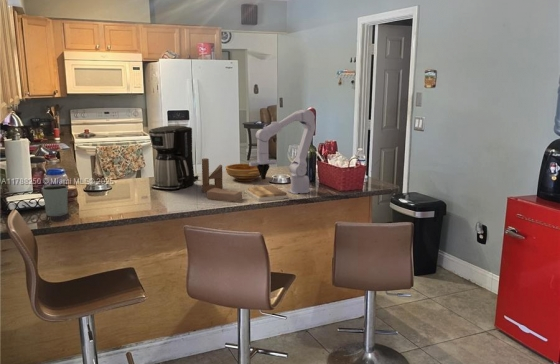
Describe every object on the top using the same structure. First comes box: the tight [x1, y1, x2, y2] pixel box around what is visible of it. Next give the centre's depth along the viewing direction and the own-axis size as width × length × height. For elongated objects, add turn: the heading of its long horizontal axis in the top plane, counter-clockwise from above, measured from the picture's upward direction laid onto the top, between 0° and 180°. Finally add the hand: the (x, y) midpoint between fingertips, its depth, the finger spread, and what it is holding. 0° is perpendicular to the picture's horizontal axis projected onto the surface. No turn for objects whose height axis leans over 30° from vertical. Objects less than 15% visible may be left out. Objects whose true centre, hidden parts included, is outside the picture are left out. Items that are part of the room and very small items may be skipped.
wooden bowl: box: [224, 163, 261, 182], centre depth 280 cm, size 30×24×8 cm
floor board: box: [244, 185, 289, 202], centre depth 239 cm, size 16×20×3 cm
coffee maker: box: [148, 125, 201, 191], centre depth 261 cm, size 23×32×34 cm
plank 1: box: [247, 186, 267, 194], centre depth 242 cm, size 8×9×1 cm
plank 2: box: [254, 190, 274, 198], centre depth 234 cm, size 8×9×1 cm
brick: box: [206, 188, 243, 203], centre depth 232 cm, size 17×8×5 cm, turn 69°
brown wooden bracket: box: [201, 158, 224, 193], centre depth 247 cm, size 4×11×18 cm, turn 115°
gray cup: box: [41, 184, 69, 217], centre depth 203 cm, size 10×10×12 cm
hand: (263, 178), depth 239 cm, fingers closed
